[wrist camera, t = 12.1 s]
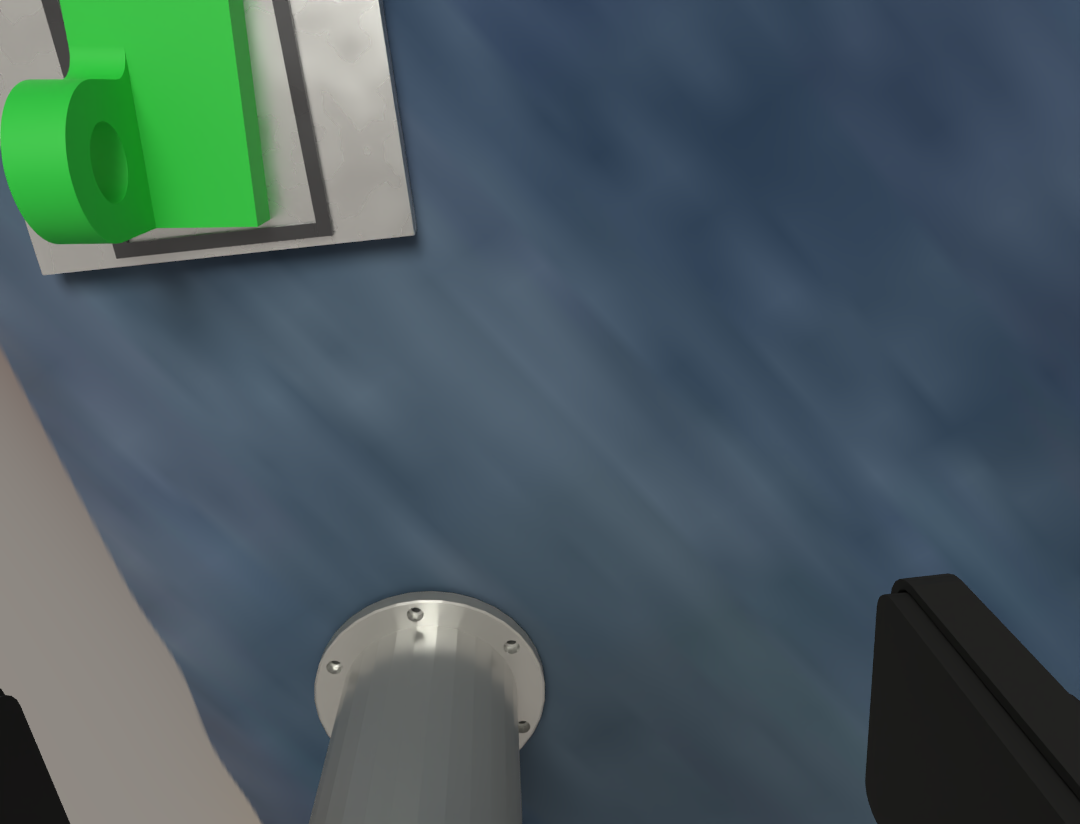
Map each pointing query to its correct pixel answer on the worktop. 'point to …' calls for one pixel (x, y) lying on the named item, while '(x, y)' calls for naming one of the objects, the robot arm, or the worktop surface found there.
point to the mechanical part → (139, 125)
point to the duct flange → (267, 131)
